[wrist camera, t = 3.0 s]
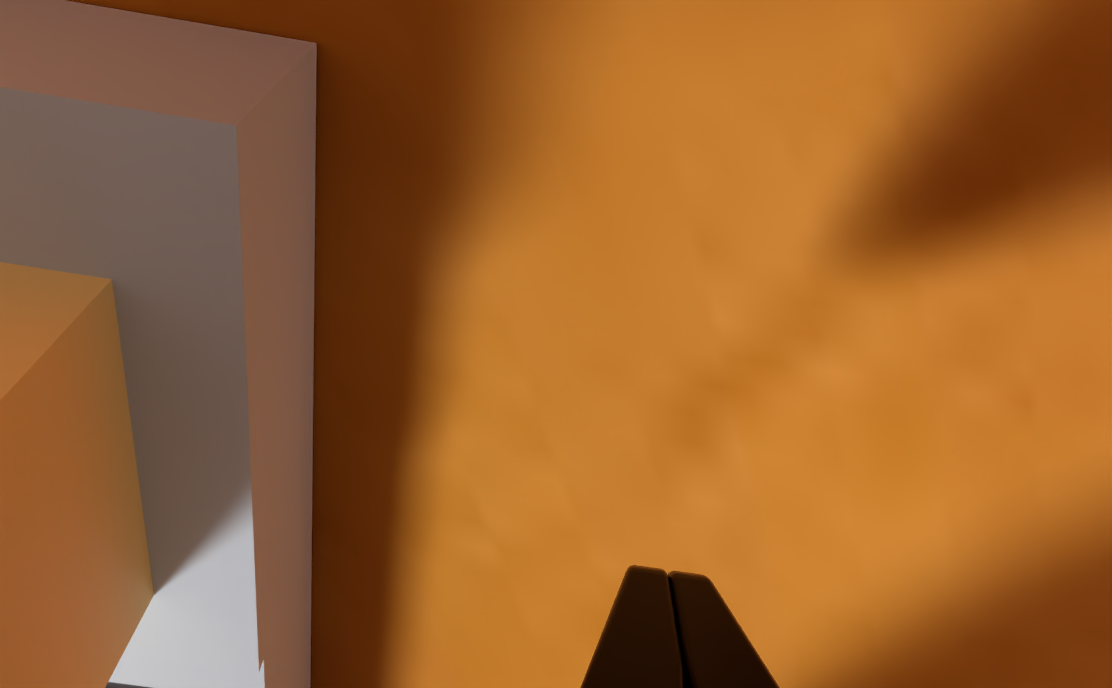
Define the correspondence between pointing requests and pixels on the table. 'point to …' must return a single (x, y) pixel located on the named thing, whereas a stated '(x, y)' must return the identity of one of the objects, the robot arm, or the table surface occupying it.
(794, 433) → the table surface
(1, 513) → the ochre block
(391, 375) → the table surface
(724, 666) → the robot arm
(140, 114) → the trap board
